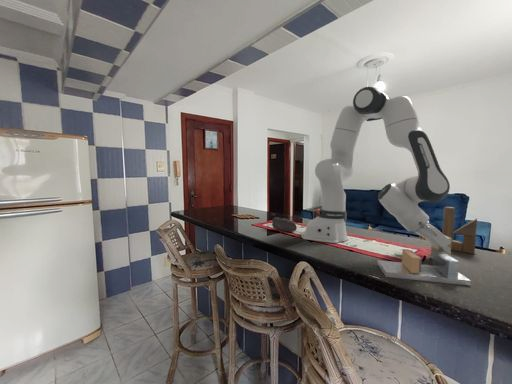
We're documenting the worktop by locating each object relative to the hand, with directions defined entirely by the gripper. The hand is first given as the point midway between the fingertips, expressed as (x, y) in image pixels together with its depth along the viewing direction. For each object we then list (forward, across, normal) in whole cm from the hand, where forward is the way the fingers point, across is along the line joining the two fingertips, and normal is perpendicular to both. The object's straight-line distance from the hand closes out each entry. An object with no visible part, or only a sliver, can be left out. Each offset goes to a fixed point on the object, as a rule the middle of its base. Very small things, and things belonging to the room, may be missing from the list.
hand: (442, 247), depth 85 cm
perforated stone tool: (-41, +28, +48) cm, 69 cm away
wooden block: (+12, +15, -5) cm, 20 cm away
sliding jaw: (-9, -16, +14) cm, 23 cm away
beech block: (+3, 0, +4) cm, 5 cm away
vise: (-6, -16, +13) cm, 22 cm away
